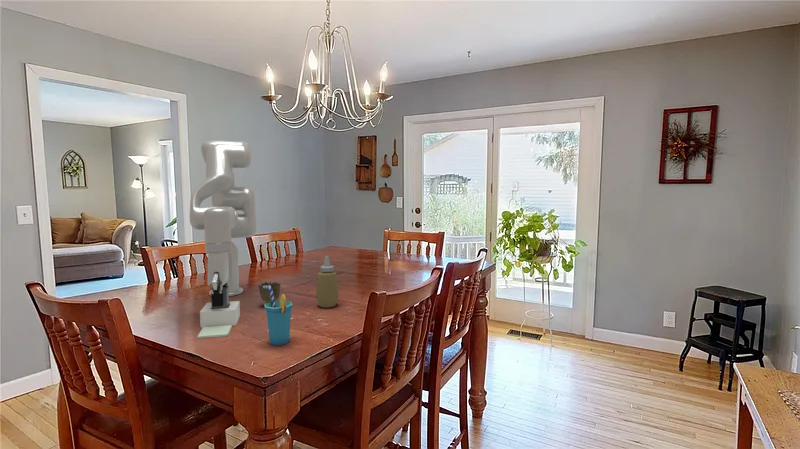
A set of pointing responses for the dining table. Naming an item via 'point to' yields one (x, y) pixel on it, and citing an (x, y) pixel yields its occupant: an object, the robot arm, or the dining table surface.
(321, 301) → the squeeze bottle
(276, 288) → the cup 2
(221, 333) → the mat
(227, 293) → the plug
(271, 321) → the cup
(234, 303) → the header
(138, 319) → the dining table surface
